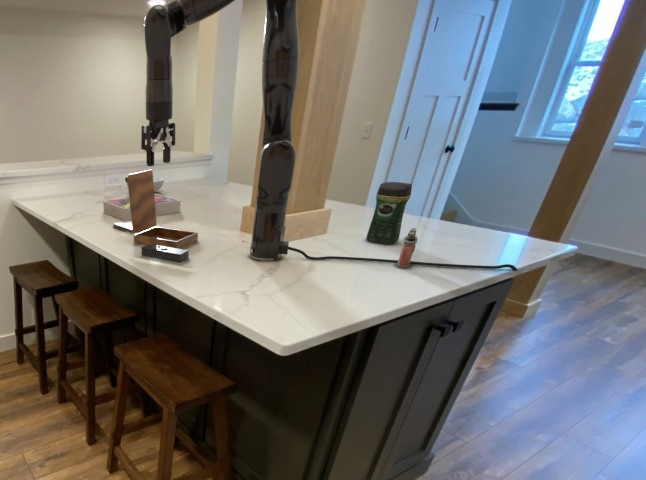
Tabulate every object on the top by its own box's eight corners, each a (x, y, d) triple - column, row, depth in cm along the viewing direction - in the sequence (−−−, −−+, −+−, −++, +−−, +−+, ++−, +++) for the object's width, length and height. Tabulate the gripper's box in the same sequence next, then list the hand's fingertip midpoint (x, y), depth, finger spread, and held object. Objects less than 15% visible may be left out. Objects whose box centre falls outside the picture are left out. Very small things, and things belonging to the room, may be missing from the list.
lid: (152, 169, 156) (140, 170, 159) (128, 174, 147) (116, 175, 150) (156, 225, 166) (145, 225, 169) (134, 233, 157) (122, 233, 160)
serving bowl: (123, 196, 239) (122, 182, 235) (129, 189, 256) (129, 176, 253) (161, 195, 236) (161, 181, 232) (165, 188, 253) (165, 175, 249)
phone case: (112, 227, 183) (131, 234, 171) (112, 223, 182) (131, 230, 170) (130, 224, 187) (151, 231, 175) (130, 220, 186) (150, 226, 174)
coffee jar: (400, 241, 150) (417, 181, 140) (391, 246, 146) (408, 185, 136) (371, 236, 156) (385, 179, 146) (361, 241, 152) (376, 182, 142)
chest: (197, 242, 158) (198, 232, 156) (176, 252, 149) (176, 241, 147) (156, 236, 168) (155, 226, 166) (134, 245, 159) (133, 234, 157)
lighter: (408, 269, 127) (419, 233, 122) (395, 267, 129) (405, 232, 123) (410, 261, 133) (421, 227, 127) (398, 260, 134) (408, 225, 129)
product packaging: (180, 212, 201) (180, 200, 198) (125, 221, 191) (124, 208, 188) (155, 204, 217) (155, 193, 215) (103, 212, 207) (103, 201, 204)
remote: (188, 260, 142) (188, 249, 140) (179, 264, 139) (180, 253, 137) (150, 253, 150) (150, 242, 148) (141, 257, 147) (141, 246, 145)
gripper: (155, 100, 117) (155, 168, 126) (183, 98, 126) (182, 162, 135) (133, 100, 121) (134, 166, 130) (162, 99, 130) (161, 161, 139)
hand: (158, 164), depth 132 cm, fingers open, 8 cm apart
